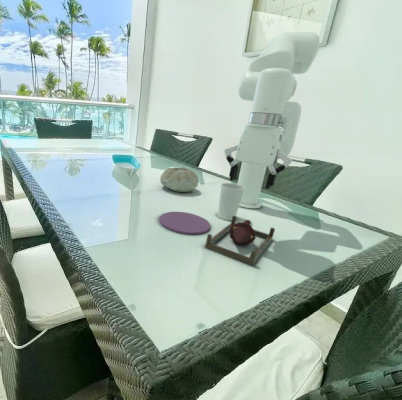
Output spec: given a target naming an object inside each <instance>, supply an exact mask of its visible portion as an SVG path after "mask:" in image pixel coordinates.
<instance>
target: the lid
mask: <svg viewBox="0 0 402 400" xmlns="http://www.w3.org/2000/svg"><path fill="white" fill-rule="evenodd" d="M158 221H159V224H160V225H161V226H162V227H163V228H165V229H166V230H168V231H171V232H174V233H177V234H182V235H190V236H191V235H192V236H193V235H194V236H195V235H203V234H206V233H207V232H209V231H210V229H211V224H210V222H209V221H208V220H207V219H205V218H204V217H202V216H200V215H197V214H195V213H191V212H184V211H168V212H165V213H162V214H161V215H160V216H159V218H158Z"/></svg>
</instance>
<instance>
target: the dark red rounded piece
mask: <svg viewBox="0 0 402 400" xmlns="http://www.w3.org/2000/svg"><path fill="white" fill-rule="evenodd" d="M251 223H252V222H251V220H250V219H246V220H244V221H243V222H237V223H235V224H234V225H232V226H231V228H230V229H229V238H230V240H232V241H233V242H234V243H235V244H236V245H240V246H245V247H246V246H249V245H250V244H252V243H254V241H255V240H256V236H255V232H254V230H255V229H254V228H253V226H252V225H251Z"/></svg>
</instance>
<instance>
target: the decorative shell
mask: <svg viewBox="0 0 402 400" xmlns="http://www.w3.org/2000/svg"><path fill="white" fill-rule="evenodd" d="M159 179H160V184H161V185H162V186H164V187H165V188H167V189H170V190H171V191H175V192H180V193H189V192H191V191H193V190H195V189H196V188H197V187H198V185H199V176H198V175H197V174H196V172H195V171H193V170H191V169H189V168H186V167H169V168H168V169H166V170H164V171H163V172H162V173H161V176H160V178H159Z"/></svg>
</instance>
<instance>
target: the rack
mask: <svg viewBox="0 0 402 400" xmlns="http://www.w3.org/2000/svg"><path fill="white" fill-rule="evenodd" d="M236 220H237V215H236V216H233V217H232V220H230V221H231V222H230V223H229V224H228V225H227V226H226V227H224V228H223V229H221V230H220V231H219V232H218V233H217V234H215V235H214V236H213V235H212V234H211V233H208V234H207V236H206V241H205V249H209V250H211V251H213V252H216V253H218V254H220V255H223V256H226V257H228V258H231V259H233V260H236V261H238V262H241V263H243V264H247V265H248V266H251V267H252V266H254V264H255V263H256V261H257V260H258V259H259V258H260V256H261V255H262V254H263V252H264V251H265V249H266V248H267V247H268V246H269V244H270V243H271V241H273V238H274V234H275V230H276V228H275V227H270V229H269V232H268V233H266V232H264V231H261V230H257V229H254V232H255V237H259V238H262V239H264V241H263V242H262V243H261V244H260V246H259V247H258V248H257V249H251V251H250V254H249V257H248V256H246V255H244V254H241V253H238V252H236V251H234V250H231V249H229V248H225V247H223V246H220V245H217V244H216V243H217V242H218V241H220V240H221V239H222V238H223V237H224V236H226V235H227V234H228V233H230V231H229V229H230V228H231V226H232V225H234V224H236Z"/></svg>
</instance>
